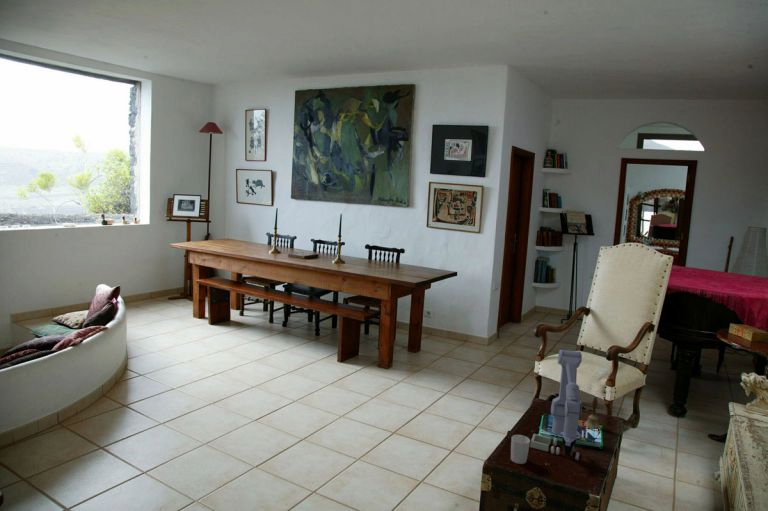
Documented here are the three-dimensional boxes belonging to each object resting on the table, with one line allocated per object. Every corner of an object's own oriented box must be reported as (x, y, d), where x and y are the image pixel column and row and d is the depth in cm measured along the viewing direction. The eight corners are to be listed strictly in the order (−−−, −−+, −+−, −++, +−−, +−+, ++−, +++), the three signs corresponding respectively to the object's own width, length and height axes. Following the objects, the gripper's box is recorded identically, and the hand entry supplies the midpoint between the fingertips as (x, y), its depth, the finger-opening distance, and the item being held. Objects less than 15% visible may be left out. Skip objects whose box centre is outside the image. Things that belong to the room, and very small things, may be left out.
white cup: (528, 466, 228) (530, 444, 227) (509, 463, 230) (511, 441, 228) (527, 457, 236) (529, 436, 234) (509, 454, 237) (511, 433, 236)
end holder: (533, 439, 252) (533, 433, 252) (550, 443, 249) (551, 437, 249) (530, 447, 245) (530, 441, 244) (547, 451, 241) (548, 445, 241)
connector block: (564, 449, 244) (565, 441, 244) (573, 452, 243) (574, 443, 242) (563, 453, 241) (564, 445, 240) (572, 456, 239) (573, 447, 239)
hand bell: (600, 432, 265) (604, 402, 262) (583, 428, 268) (587, 398, 265) (600, 425, 272) (604, 396, 270) (583, 421, 275) (587, 392, 273)
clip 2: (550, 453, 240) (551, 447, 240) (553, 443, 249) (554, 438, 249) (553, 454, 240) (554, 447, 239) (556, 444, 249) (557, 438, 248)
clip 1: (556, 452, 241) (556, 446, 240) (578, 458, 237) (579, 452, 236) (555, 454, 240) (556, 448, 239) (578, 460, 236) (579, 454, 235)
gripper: (563, 417, 244) (560, 444, 246) (559, 430, 231) (556, 458, 233) (579, 421, 241) (576, 448, 243) (576, 434, 228) (572, 463, 230)
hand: (567, 453), depth 238 cm, fingers closed
